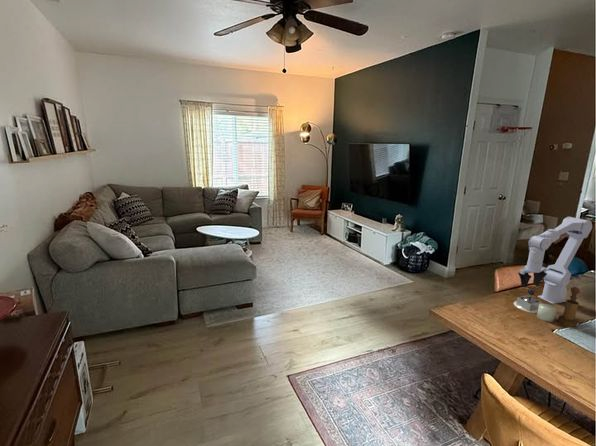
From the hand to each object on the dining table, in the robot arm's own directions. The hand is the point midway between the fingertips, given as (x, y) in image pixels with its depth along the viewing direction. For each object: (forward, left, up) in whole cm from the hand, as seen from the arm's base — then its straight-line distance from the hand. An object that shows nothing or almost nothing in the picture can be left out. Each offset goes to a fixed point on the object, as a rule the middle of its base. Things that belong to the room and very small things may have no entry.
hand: (529, 285), depth 154 cm
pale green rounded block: (+3, +12, -10) cm, 16 cm away
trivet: (+1, +2, -10) cm, 11 cm away
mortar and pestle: (-2, +18, -11) cm, 21 cm away
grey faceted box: (+1, +1, -10) cm, 10 cm away
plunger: (+1, +2, -7) cm, 8 cm away
